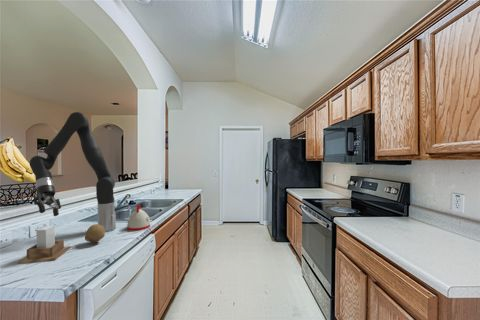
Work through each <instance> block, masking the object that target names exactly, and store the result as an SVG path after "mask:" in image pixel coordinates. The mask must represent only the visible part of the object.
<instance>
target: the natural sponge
mask: <svg viewBox="0 0 480 320" xmlns="http://www.w3.org/2000/svg"><path fill="white" fill-rule="evenodd" d="M105 235H106V232H105V230H104V228H103V227H102V226H101V225H99V224H98V223H95V224H92V225H90V226H89V227H88V228H87V230H86V231H85V234H84V241H86V242H88V243H92V244H97V243H98V242H99V241H102V239H103V238H104V237H105Z"/></svg>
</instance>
